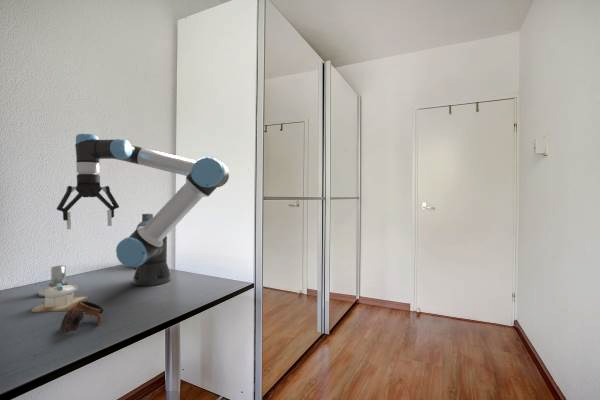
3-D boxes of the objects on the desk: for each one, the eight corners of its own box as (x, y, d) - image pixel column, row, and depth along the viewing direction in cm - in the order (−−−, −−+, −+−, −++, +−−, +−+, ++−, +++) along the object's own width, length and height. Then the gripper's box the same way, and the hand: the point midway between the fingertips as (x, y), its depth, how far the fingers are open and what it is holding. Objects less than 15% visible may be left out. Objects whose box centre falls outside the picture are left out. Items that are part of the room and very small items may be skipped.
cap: (74, 303, 104) (74, 285, 104) (45, 308, 99) (45, 290, 99) (72, 297, 110) (72, 280, 110) (44, 302, 105) (44, 284, 105)
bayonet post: (84, 286, 125) (83, 263, 125) (65, 296, 113) (65, 270, 113) (52, 287, 124) (52, 263, 123) (30, 297, 112) (30, 271, 111)
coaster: (87, 298, 111) (87, 296, 111) (68, 310, 100) (68, 307, 100) (54, 300, 110) (54, 297, 110) (31, 311, 99) (31, 309, 99)
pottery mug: (65, 324, 91) (82, 297, 94) (96, 336, 92) (111, 309, 95) (44, 330, 80) (64, 300, 82) (80, 344, 81) (98, 314, 84)
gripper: (120, 175, 131) (122, 224, 131) (46, 173, 113) (48, 229, 113) (126, 174, 126) (127, 225, 126) (49, 172, 107) (51, 231, 108)
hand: (90, 227), depth 120 cm, fingers open, 13 cm apart
